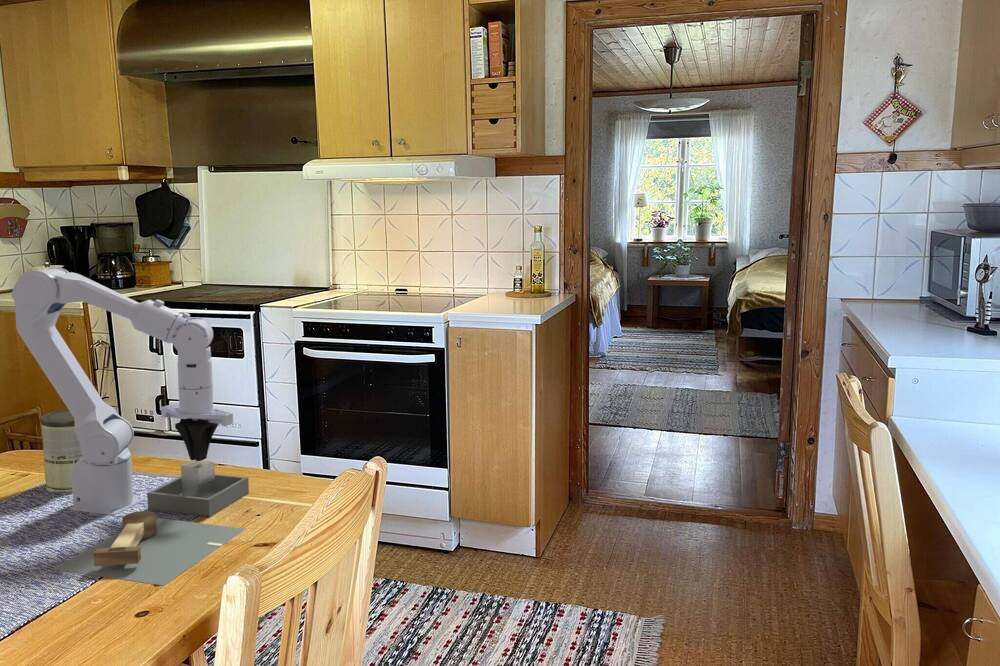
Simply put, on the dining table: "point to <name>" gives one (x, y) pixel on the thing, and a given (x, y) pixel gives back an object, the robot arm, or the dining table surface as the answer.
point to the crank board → (158, 552)
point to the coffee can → (59, 449)
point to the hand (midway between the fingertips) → (198, 459)
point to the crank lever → (128, 540)
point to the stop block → (198, 479)
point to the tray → (175, 502)
